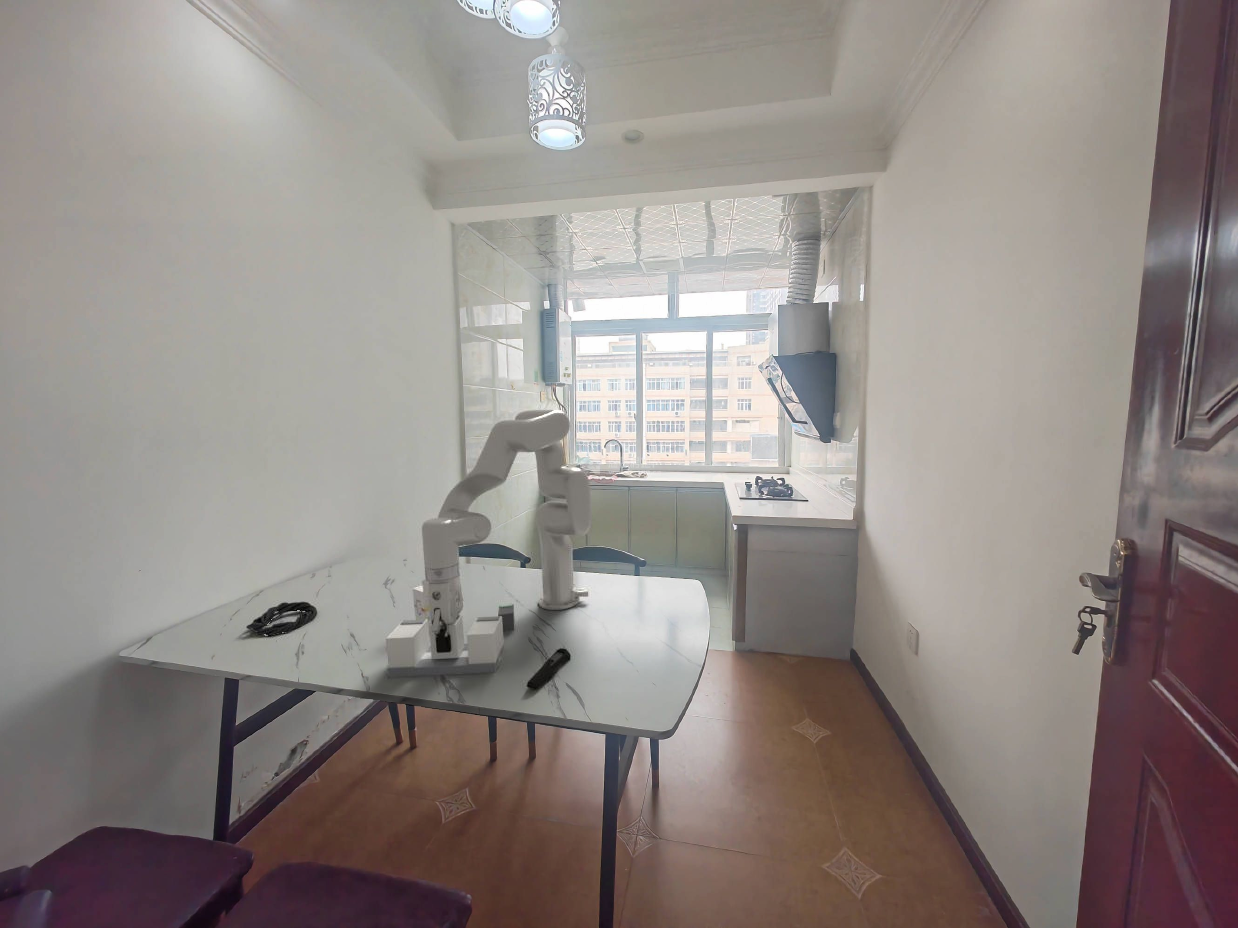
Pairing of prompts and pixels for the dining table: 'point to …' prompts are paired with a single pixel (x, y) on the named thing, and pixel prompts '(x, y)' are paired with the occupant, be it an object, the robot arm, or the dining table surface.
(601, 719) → the dining table surface
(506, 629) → the loose device
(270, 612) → the cable
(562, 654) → the electric trimmer
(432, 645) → the block
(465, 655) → the rail board
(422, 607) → the ink cartridge box
